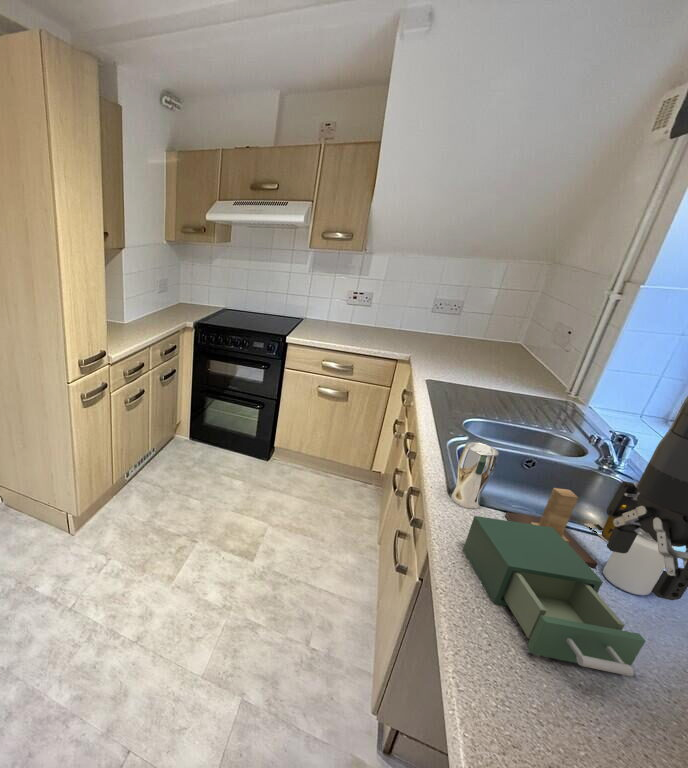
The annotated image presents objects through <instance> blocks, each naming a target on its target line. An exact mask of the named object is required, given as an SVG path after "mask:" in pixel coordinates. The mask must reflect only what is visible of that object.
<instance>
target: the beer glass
mask: <svg viewBox="0 0 688 768" xmlns="http://www.w3.org/2000/svg"><path fill="white" fill-rule="evenodd" d="M499 453H500V451H498V449H496V448H495V447H493V446H491V445H489V444H487V443H483V442H478V441H468V442H466V443H465V445H464V447H463V450H462V452H461V455H460V458H459V461H458V466H457V477H456V478H457V479H456V485H455V488H454V489H453V491H452V493H451V494H450V499H451V501H452V502H453V503H455V504H456V505H458V506H460V507H463V508H465V509H470V510H475V509H478V508H480V506H481V498H482V494H483V492H484V489H485V488H486V486H487V485H488V483H489V482H490V480H491V479H492V477H493V475H494V473H495V469H496V467H497V462H498V457H499Z"/></svg>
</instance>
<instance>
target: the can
mask: <svg viewBox="0 0 688 768" xmlns="http://www.w3.org/2000/svg"><path fill="white" fill-rule="evenodd" d="M635 532H636V533H638V534H637V536H636V538H635V540H634V542H633V544H632V546H631V547H630V549H629V551H628V552H627V553H618V552H613V551H611V554H610V556H609V557H608V559H607V562H606V564H605V565H604V568H603V570H602V574H603V576H604V578H605V579H606V580H607V582H609V583H610V584H611V585H612V586H614V587H616V588H618V589H619V590H621V591H622V592H623V591H624V592H626V593H628V594H631V595H635V596H648V595H650V594H651V593H652V589H653V587H654V586H655V584H656V582H657V581H658V579H659V577H660V576H661V574H662V572H663V571H665V560H664V556H663V555H661V554H660V553H659V550H658V543H657V542H656V541H655V540H654V539H653V538H652V537H651V535H650V534H649V533H647V532H645V531H643V530H642V529H640V530H635ZM672 548H673V549H674V550H675V546H672Z"/></svg>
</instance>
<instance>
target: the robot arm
mask: <svg viewBox="0 0 688 768" xmlns="http://www.w3.org/2000/svg"><path fill="white" fill-rule="evenodd" d="M611 499H612V500H611V501H610V503H609V504H608V506H607V508H606V514H607V516H608V517H609V516H613V518H614V520H613V524H614V526H615V528H614V530H613V531H612V534H611V535H610V537H609V540H608V542H607V544H606V548H607V549H609V551H611V552H618V553H627V552H628V551H629V549H630V547H631V546H632V544H633V542H634V540H635V538H636V536H637V534H638V533H636V532H635V530H640V529H642V530H643V531H645V532H647V533H649V534H650V535H651V537H652V538H653V539H654V540H655V541H656V542H657V543H658V550H659V553H660V554H661V555H663V556H664V560H665V568H664V570H663V571H662V573H661V575H660V577H659V578H658V580H657V582H656V584H655V585H654V587H653V589H652V591H651V593H653V595H655V597H657V598H658V599H664V600H669V601H679V600H680V599H682V597H683V595H684V594H685V592H686V591H687V589H688V395H687V396H686V397H685V398H684V401H683V402H682V404H681V406H680V407H679V410H678V412H677V414H676V415H675V418H674V419H673V422H672V423H671V425H670V428H669V429H668V430H667V432H666V433H665V434H664V436H663V437H662V438H661V440H660V441H659V442H658V443H657V446H656V448H655V449H654V451H653V454H652V455H651V456H650V459H649V461H648V463H647V465H646V467H645V469H644V471H643V473H642V475H641V477H640V478H639V481H638V482H632V481H622V482H621V483H620V486H619V487H618V489H617V490H616V493H615V494H614V496H613V498H611ZM622 505H626V507H625V509H624V510H621V509H620V507H621V506H622ZM672 546H674V549H673V548H672ZM675 547H676V548H681V547H685V551H680V550H675ZM679 559H681V560H682V561H683V567H679V566H680V565H679Z"/></svg>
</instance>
